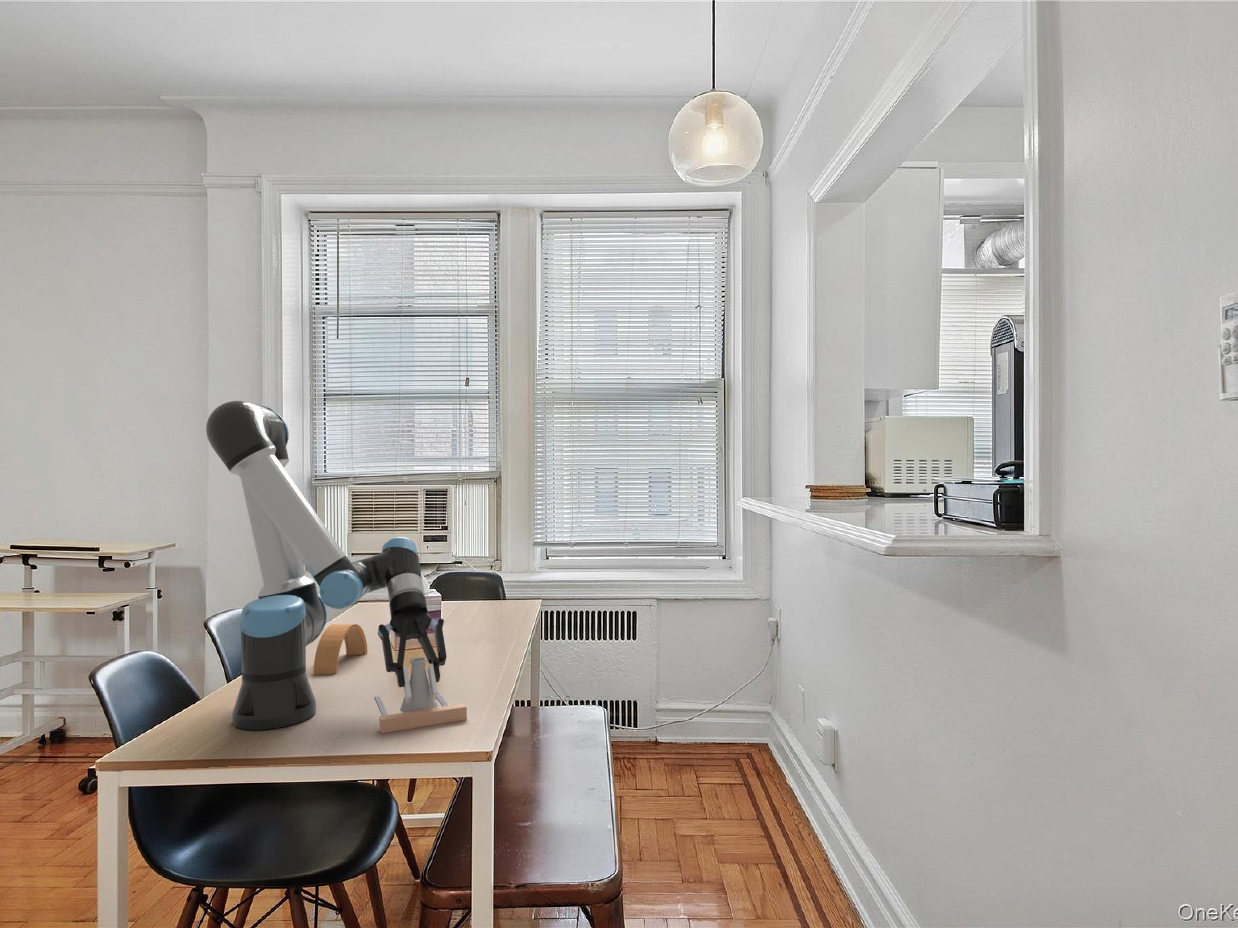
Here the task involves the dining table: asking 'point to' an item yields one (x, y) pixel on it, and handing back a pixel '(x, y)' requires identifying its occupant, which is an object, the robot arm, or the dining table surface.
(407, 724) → the stop bar lane
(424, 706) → the flask
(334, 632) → the arch
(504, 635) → the dining table surface
